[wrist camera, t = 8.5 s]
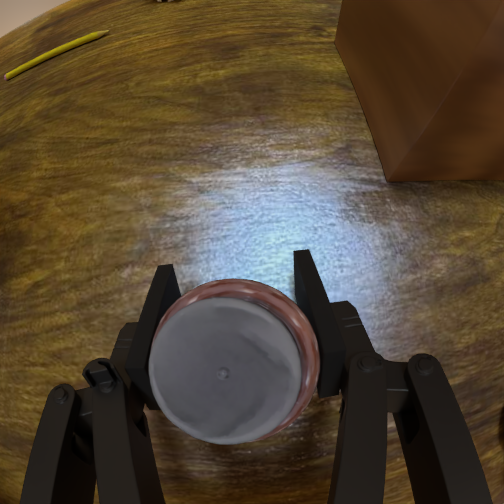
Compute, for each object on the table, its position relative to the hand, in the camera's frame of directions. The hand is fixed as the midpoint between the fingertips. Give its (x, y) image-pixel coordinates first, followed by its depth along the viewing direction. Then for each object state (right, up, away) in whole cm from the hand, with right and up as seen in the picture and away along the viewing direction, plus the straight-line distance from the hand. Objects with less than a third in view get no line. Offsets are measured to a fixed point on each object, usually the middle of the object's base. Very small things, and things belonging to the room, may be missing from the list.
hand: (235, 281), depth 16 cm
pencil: (-24, +26, +12) cm, 37 cm away
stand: (+19, +15, +7) cm, 25 cm away
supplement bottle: (+1, -4, +3) cm, 5 cm away
